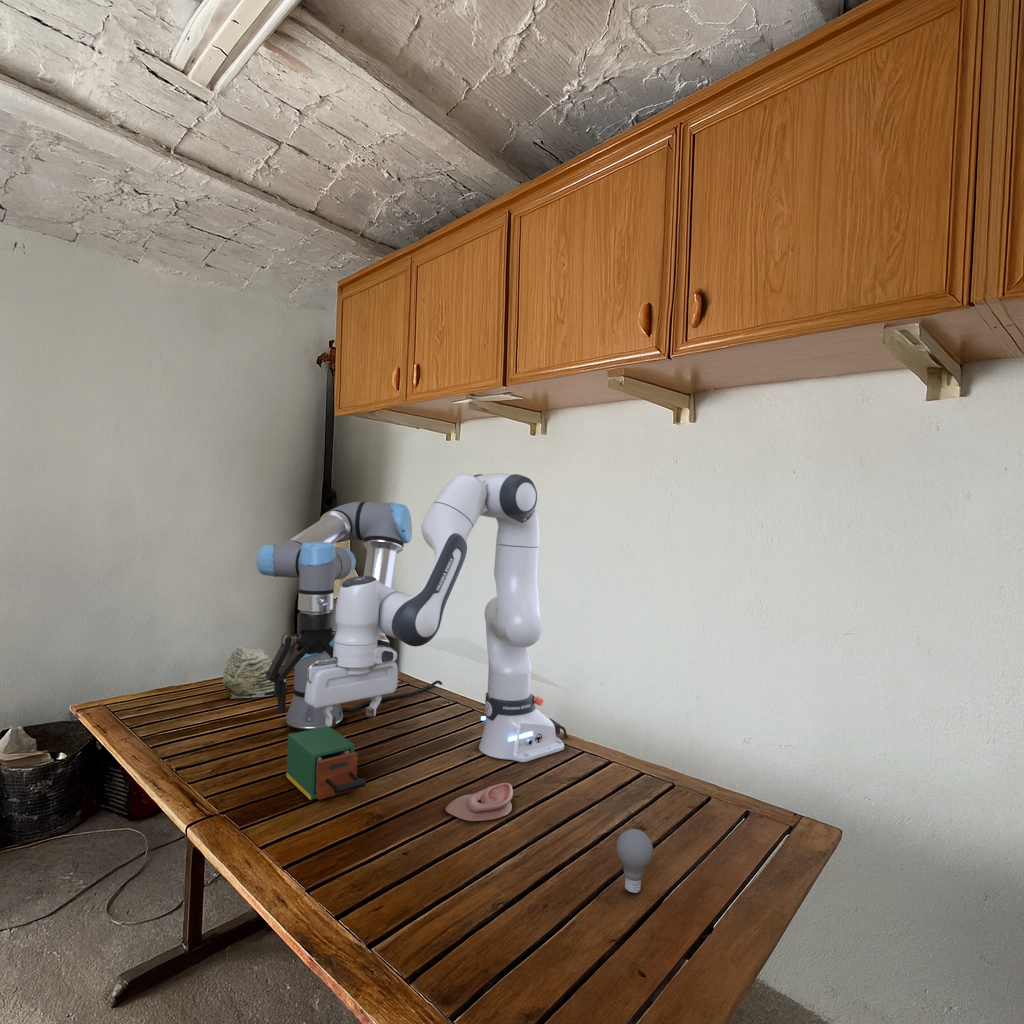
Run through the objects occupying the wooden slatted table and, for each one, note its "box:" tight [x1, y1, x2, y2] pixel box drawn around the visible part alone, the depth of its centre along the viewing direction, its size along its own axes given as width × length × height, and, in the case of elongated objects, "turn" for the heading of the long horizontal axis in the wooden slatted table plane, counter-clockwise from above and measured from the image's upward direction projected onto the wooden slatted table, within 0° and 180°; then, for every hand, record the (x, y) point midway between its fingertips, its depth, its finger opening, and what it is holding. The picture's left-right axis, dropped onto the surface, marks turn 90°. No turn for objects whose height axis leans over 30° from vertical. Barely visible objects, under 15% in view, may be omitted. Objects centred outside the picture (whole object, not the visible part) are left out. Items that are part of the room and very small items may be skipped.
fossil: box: [222, 646, 288, 699], centre depth 198 cm, size 9×18×15 cm, turn 132°
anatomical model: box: [444, 782, 514, 822], centre depth 131 cm, size 13×4×12 cm
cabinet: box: [285, 726, 356, 801], centre depth 140 cm, size 14×10×10 cm
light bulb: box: [615, 828, 654, 894], centre depth 106 cm, size 6×6×10 cm
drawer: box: [314, 750, 367, 801], centre depth 135 cm, size 18×8×8 cm, turn 40°
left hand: (311, 706), depth 142 cm, fingers open, 13 cm apart
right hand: (351, 720), depth 132 cm, fingers open, 8 cm apart
